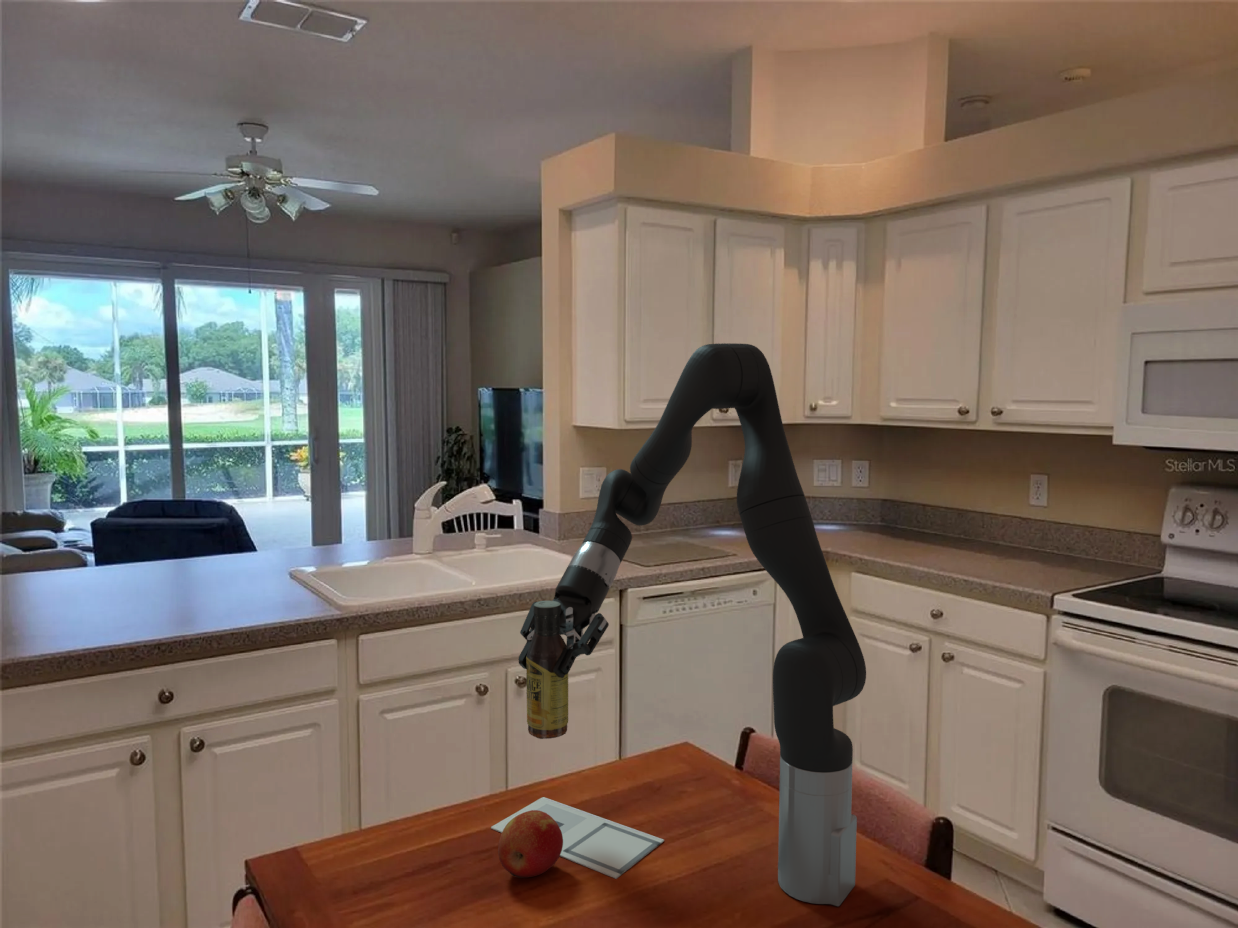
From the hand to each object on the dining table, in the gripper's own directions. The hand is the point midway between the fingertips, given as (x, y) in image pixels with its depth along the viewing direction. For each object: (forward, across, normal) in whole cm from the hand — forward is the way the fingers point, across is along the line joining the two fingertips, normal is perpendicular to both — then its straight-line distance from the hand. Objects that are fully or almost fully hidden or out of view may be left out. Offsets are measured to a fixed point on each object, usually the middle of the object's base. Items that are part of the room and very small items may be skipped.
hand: (540, 670), depth 124 cm
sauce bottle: (+6, 0, +8) cm, 10 cm away
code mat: (+16, +5, +18) cm, 25 cm away
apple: (+24, +6, +10) cm, 27 cm away
